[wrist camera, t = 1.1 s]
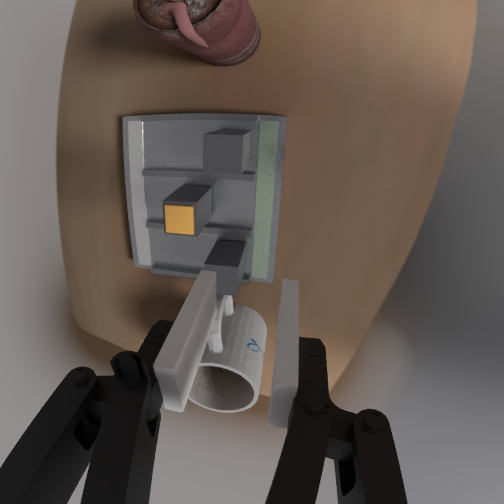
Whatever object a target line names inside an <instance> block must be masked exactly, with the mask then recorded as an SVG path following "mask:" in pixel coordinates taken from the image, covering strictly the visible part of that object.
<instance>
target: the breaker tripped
mask: <svg viewBox="0 0 504 504" xmlns="http://www.w3.org/2000/svg"><path fill="white" fill-rule="evenodd" d="M162 203H163V220H164V234H170V235H181V236H192V237H198V236H199V234H200V233H201V231H202V230H203V228H204V227H205V226H206V224H207V223H208V221H209V220H210V218H211V217H212V187H207V186H187V185H182V186H180V187H179V188H178V189H177V190H175V191H174V192H173V193H171V194H170V195H169V196H168V197H166V198H165V199H164V200H163V201H162Z"/></svg>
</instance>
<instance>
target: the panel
mask: <svg viewBox="0 0 504 504" xmlns="http://www.w3.org/2000/svg"><path fill="white" fill-rule="evenodd" d="M286 123H287V116H276V115H261V114H240V113H172V114H151V115H136V116H126V117H123V150H124V170H125V185H126V197H127V208H128V218H129V227H130V236H131V244H132V251H133V259H134V265H135V267H139V268H147V269H151V273H155V274H163V275H171V276H178V277H186V278H194V279H197V277H198V275H199V273H200V272H201V270H204V263H205V261H206V259H207V257H208V255H209V254H210V252H211V250H212V248H213V246H214V244H215V242H216V241H217V240H221V241H232V242H242V243H246V260H245V271H244V275H243V278H242V282H241V284H246V285H249V281H257V282H266V283H273V278H274V268H275V258H276V247H277V236H278V225H279V213H280V202H281V190H282V177H283V164H284V151H285V137H286ZM218 129H222V130H247V131H252V133H251V153H250V164H249V165H248V166H247V168H246V169H245V170H244V172H243V173H242V175H241V174H224V173H205V172H203V134H205V133H209V132H212V131H215V130H218ZM182 185H187V186H207V187H212V217H211V218H210V220H209V221H208V223H207V224H206V226H205V227H204V228H203V230H202V231H201V233H200V234H199V236H198V237H192V236H181V235H170V234H164V220H163V203H162V201H163V200H164V199H165V198H166V197H168V196H169V195H170V194H171V193H173V192H174V191H175V190H177V189H178V188H179V187H180V186H182Z"/></svg>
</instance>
